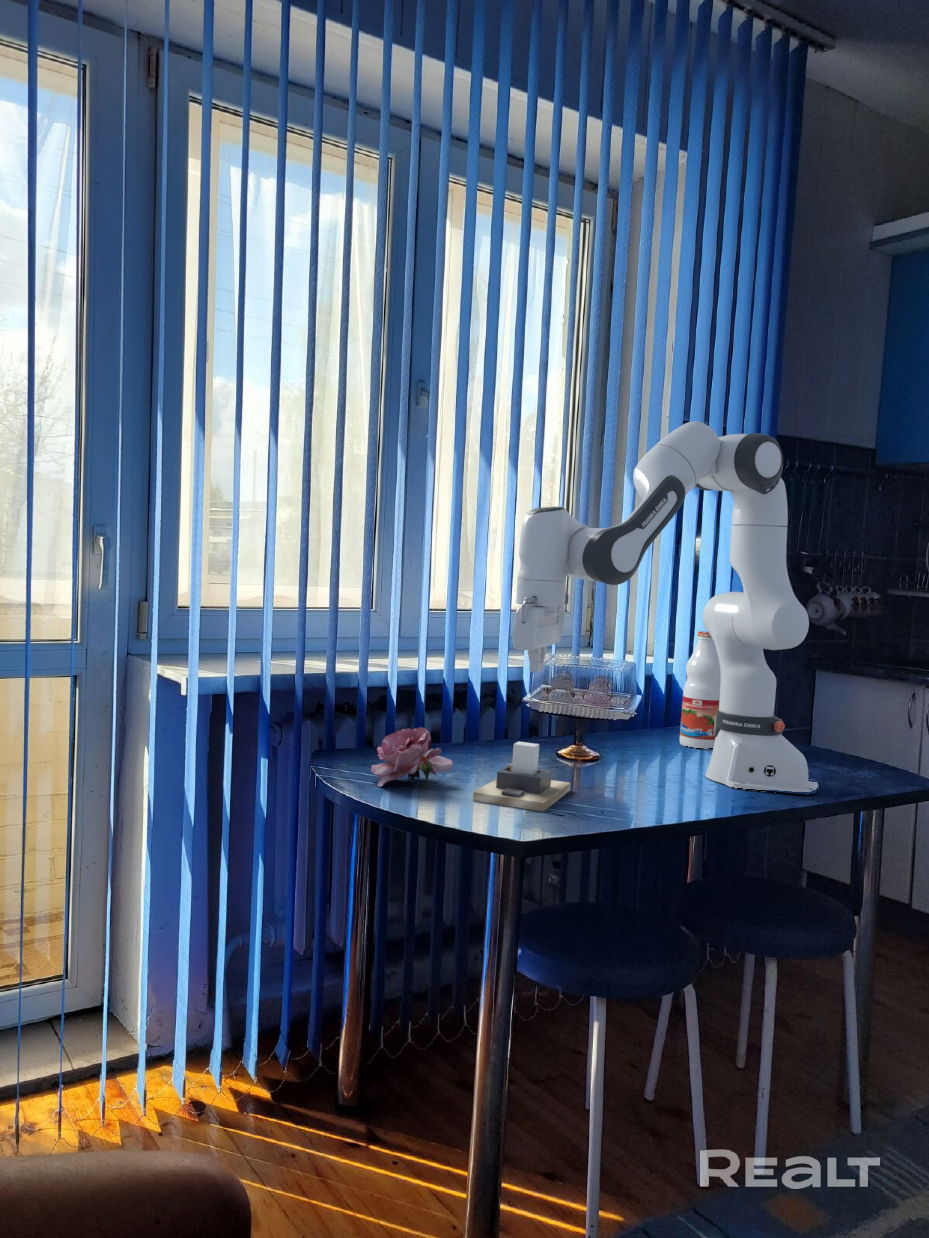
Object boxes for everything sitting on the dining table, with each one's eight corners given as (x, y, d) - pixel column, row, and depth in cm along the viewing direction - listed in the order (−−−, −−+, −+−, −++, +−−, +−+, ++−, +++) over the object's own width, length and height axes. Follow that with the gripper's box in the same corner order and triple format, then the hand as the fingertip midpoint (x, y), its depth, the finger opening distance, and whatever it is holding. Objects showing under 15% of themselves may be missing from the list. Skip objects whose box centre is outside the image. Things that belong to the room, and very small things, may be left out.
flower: (408, 755, 199) (406, 710, 195) (465, 779, 190) (463, 733, 186) (353, 786, 188) (350, 739, 185) (410, 813, 179) (407, 764, 176)
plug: (536, 787, 185) (539, 744, 184) (531, 790, 182) (534, 746, 181) (512, 783, 186) (515, 740, 186) (507, 786, 184) (510, 743, 183)
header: (550, 786, 186) (551, 770, 186) (539, 794, 179) (540, 777, 179) (508, 780, 189) (509, 764, 189) (496, 787, 182) (497, 771, 182)
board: (569, 790, 190) (570, 779, 190) (543, 811, 174) (544, 799, 173) (504, 780, 195) (505, 770, 195) (472, 800, 178) (473, 788, 178)
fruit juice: (724, 746, 247) (733, 633, 245) (710, 751, 239) (719, 634, 237) (687, 740, 252) (696, 629, 250) (672, 745, 245) (682, 630, 243)
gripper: (541, 598, 172) (536, 679, 173) (571, 595, 191) (566, 667, 192) (506, 596, 174) (501, 675, 175) (539, 593, 193) (534, 664, 194)
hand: (536, 671), depth 184 cm, fingers closed
